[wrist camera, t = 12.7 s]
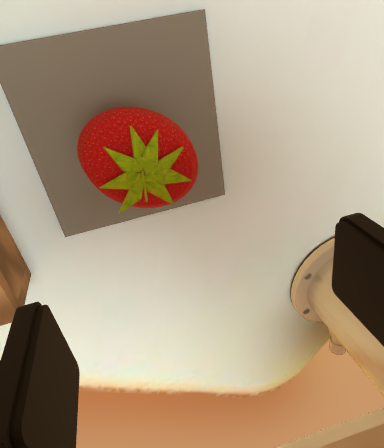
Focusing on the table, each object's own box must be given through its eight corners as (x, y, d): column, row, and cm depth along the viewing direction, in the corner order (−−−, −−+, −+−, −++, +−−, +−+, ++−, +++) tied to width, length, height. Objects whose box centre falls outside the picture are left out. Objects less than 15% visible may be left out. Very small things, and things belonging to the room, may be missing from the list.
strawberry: (158, 186, 28) (196, 251, 20) (64, 156, 25) (63, 220, 16) (187, 117, 26) (243, 159, 18) (89, 75, 23) (102, 101, 14)
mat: (222, 191, 31) (224, 194, 30) (65, 233, 28) (65, 237, 28) (202, 9, 23) (204, 9, 23) (-12, 47, 21) (-15, 48, 21)
